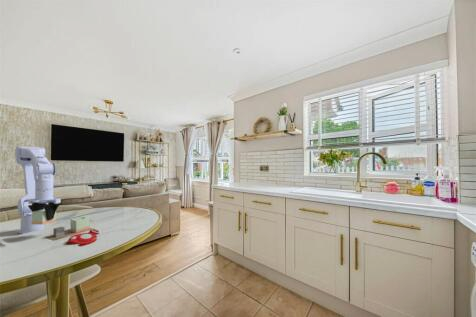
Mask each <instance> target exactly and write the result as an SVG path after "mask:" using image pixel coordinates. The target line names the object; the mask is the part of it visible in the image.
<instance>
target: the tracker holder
mask: <svg viewBox="0 0 476 317" xmlns="http://www.w3.org/2000/svg"><path fill="white" fill-rule="evenodd" d="M91 228H92V227H90V230H88V231H89V232H88V231H87V232H82V233H78V234H75V235H71V236H69V238H68V240H67V241H66V244H67V245H68V244H73V245H78V246H81V247H83V246H87V245H90V244H94V243H95V242H96V241H97V240H98V236H97V234H101V233H100V229H97V228H93V229H91Z"/></svg>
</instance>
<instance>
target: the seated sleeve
mask: <svg viewBox="0 0 476 317" xmlns="http://www.w3.org/2000/svg"><path fill="white" fill-rule="evenodd" d="M90 224H91V222H90V217H88V216H80V217H75V218H72V219H70V229H69V230H70V231H72V232H80V231H83V230H87V229H90V228H91V225H90Z"/></svg>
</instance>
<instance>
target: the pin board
mask: <svg viewBox="0 0 476 317" xmlns="http://www.w3.org/2000/svg"><path fill="white" fill-rule="evenodd" d="M90 228H91V229H94V228H93V227H90ZM88 231H90V229H87V230H83V231H80V232H72V231H70V229H68V230H65V227H64V226H58V227H54V228H53V232H52V233H53V234H49V235H45V236H44V239H48V240H51V241H57V240H61V239H64V238H68V237H71V236H73V235H76V234H81V233H86V232H88Z"/></svg>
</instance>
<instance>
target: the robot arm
mask: <svg viewBox="0 0 476 317" xmlns="http://www.w3.org/2000/svg"><path fill="white" fill-rule="evenodd" d="M15 162H16V164H19V165H21V167H22V169H23V179H24V180H23V181H24V188H25V195H24V196H22V197H21V198H19V199H18V201H17V214H18V215H19V216H21V218H20V230H18V231H17V233H19V234H22V235H24V234H28V233H32V232H37V231H41V230H44V229H46V227H45V224H43V225H42V224H31V222H32V212H34V211H38V210H43V209H45V211H46V218H47V220H50V219H53V218H54V215H55V212H56V213H57V210H58V207H59V206H60V205H61V201H62V199H61V198H57V197H54V176H55V175H56V164H55V163H54V162H50V161H49V160H48V158H47V157H46V149H45V147H43V146H25V145H24V146H23V145H17V146H16V147H15Z"/></svg>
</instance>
